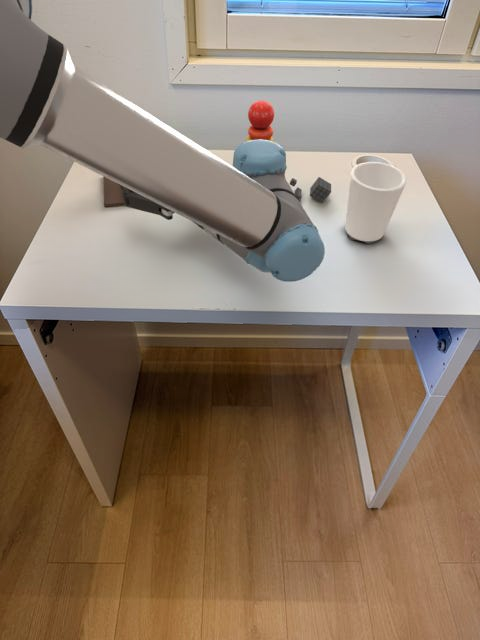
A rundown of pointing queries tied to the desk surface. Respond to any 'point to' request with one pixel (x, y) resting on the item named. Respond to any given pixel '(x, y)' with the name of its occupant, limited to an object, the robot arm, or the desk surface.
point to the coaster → (112, 194)
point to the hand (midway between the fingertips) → (146, 163)
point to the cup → (372, 199)
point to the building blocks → (315, 189)
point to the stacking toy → (260, 121)
